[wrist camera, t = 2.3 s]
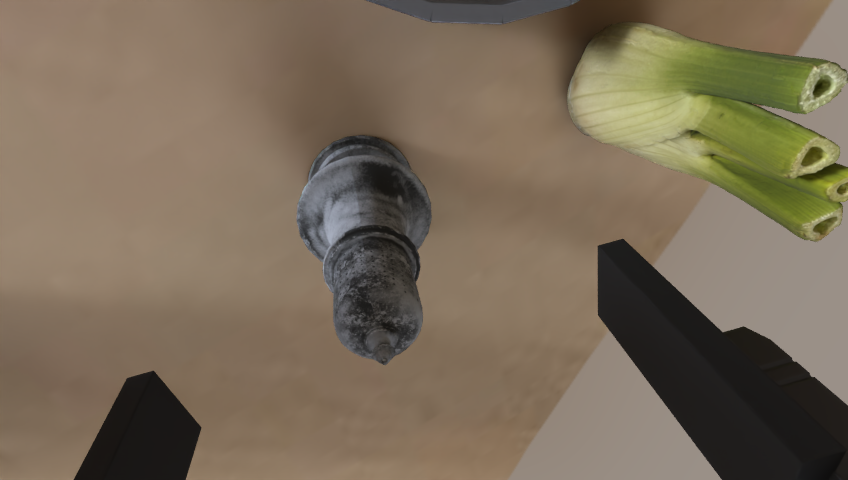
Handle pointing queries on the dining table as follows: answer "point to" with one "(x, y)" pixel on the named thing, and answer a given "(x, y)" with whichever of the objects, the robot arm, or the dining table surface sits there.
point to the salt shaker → (368, 242)
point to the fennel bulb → (716, 118)
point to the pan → (474, 9)
